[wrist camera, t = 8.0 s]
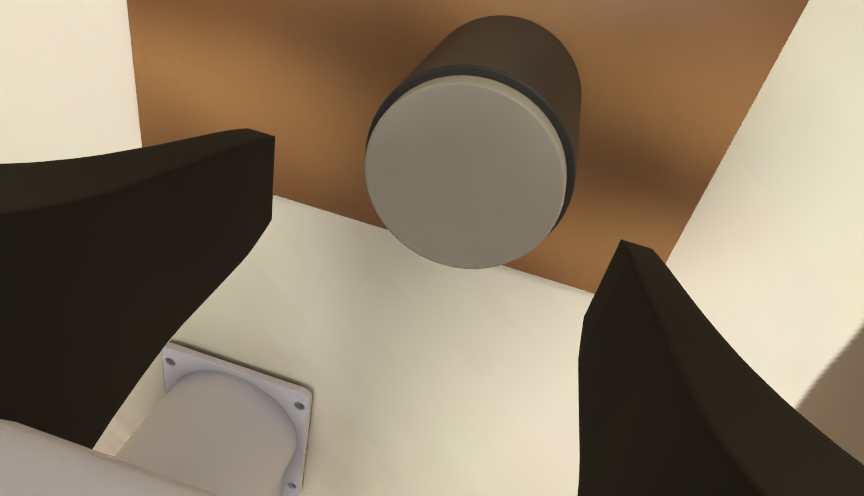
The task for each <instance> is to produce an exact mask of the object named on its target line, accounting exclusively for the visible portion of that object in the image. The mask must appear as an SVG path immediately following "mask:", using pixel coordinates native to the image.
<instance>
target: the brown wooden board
mask: <svg viewBox="0 0 864 496" xmlns="http://www.w3.org/2000/svg"><path fill="white" fill-rule="evenodd" d="M808 1H809V0H127V8H128V17H129V27H130V36H131V45H132V55H133V64H134V74H135V83H136V93H137V102H138V112H139V121H140V131H141V140H142V148H143V147H149V146H154V145H159V144H164V143H168V142H173V141H178V140H182V139H187V138H192V137H197V136H201V135H206V134H211V133H216V132H221V131H227V130H233V129H242V128H249V129H253V130H256V131H259V132H263V133H266V134H269V135H273V136H275V154H274V177H273V194H274V195H277V196H280V197H283V198H287V199H290V200H293V201H296V202H300V203H303V204H306V205H309V206H313V207H316V208H319V209H322V210H326V211H329V212H332V213H335V214H339V215H342V216H345V217H348V218H351V219H355V220H358V221H361V222H364V223H368V224H371V225H374V226H377V227H381V228H384V229H387V230H388V228H387V227H386V226H385V225H384V223H383V222H382V221H381V219H380V217H379V216H378V214H377V213H376V210H375V208H374V206H373V204H372V202H371V199H370V196H369V193H368V190H367V185H366V180H365V149H366V140H367V136H368V131H369V128H370V125H371V123H372V120H373V118H374V116H375V114H376V112H377V110H378V109H379V107H380V106H381V104H382V103H383V102H384V100H385V99H386V98H387V96H388V95H389V94H390V93H391V92H392V91H393V90H394V89H395V88H396V87H397V86H398V85H399V84H400V83H401V82H402V81H403V80H404V79H405V78H406V77H407V76H408V75H409V74H410V73H411V72H412V71H413V70H414V69H415V68H416V67H417V66H418V65H419V64H420V63H421V62H422V61H423V60H424V59H425V58H426V57H427V56H428V55H429V54H430V53H431V52H432V51H433V50H434V49H435V48H436V47H437V46H438V45H439V44H440V43H441V42H442V41H443V40H444V39H445V38H446V37H447V36H448V35H449V34H450V33H452V32H453V31H454V30H456V29H457V28H458V27H460V26H462V25H464V24H466V23H468V22H470V21H473V20H475V19H478V18H483V17H487V16H497V15H504V16H514V17H519V18H523V19H526V20H529V21H532V22H534V23H536V24H538V25H540V26H542V27H544V28H545V29H546V30H548V31H549V32H551V33H552V34H553V35H554V36H555V37H556V38H557V39H559V40H560V41H561V43H562V44H563V45H564V46H565V48H566V49H567V50H568V52H569V54H570V55H571V57H572V59H573V61H574V63H575V65H576V68H577V70H578V74H579V78H580V83H581V113H580V127H579V142H578V156H577V170H576V181H575V187H574V192H573V195H572V199H571V202H570V204H569V206H568V209H567V211H566V213H565V215H564V216H563V218H562V219H561V221H560V222H559V224H558V225H557V226H556V227H555V229H554V230H553V231H552V232H551V233H550V234H549V235H548V236H547V237H546V238H544V239H543V240H542V242H541V243H540V244H538V245H537V246H536V247H535V248H534V249H532V250H531V251H530V252H528V253H526V254H525V255H523V256H522V257H520V258H518V259H516V260H514V261H511V262H509V263H506V264H503V265H504V266H507V267H510V268H514V269H517V270H520V271H523V272H527V273H530V274H533V275H536V276H540V277H543V278H546V279H549V280H553V281H556V282H559V283H562V284H566V285H569V286H572V287H575V288H579V289H582V290H585V291H588V292H592V293H596V291H597V289H598V287H599V284H600V282H601V280H602V278H603V276H604V274H605V272H606V270H607V268H608V266H609V263H610V261H611V259H612V257H613V255H614V253H615V251H616V249H617V247H618V244H619V242H620V240H621V239H622V240H625V241H628V242H632V243H635V244H638V245H642V246H645V247H649V248H652V249H653V250H654V251H655V252H656V253H657V254H658V256H659V257H660V258H661V259H662V261H663V262H664V263H666V261H667V259H668V257H669V256H670V254H671V252H672V250H673V248H674V246H675V245H676V243H677V241H678V239H679V237H680V235H681V234H682V232H683V230H684V228H685V226H686V224H687V223H688V221H689V219H690V217H691V215H692V213H693V212H694V210H695V208H696V206H697V204H698V202H699V201H700V199H701V197H702V195H703V193H704V191H705V190H706V188H707V186H708V184H709V182H710V180H711V179H712V177H713V175H714V173H715V171H716V170H717V168H718V166H719V164H720V162H721V160H722V159H723V157H724V155H725V153H726V151H727V149H728V148H729V146H730V144H731V142H732V140H733V138H734V137H735V135H736V133H737V131H738V129H739V127H740V126H741V124H742V122H743V120H744V118H745V116H746V115H747V113H748V111H749V109H750V107H751V105H752V104H753V102H754V100H755V98H756V96H757V94H758V93H759V91H760V89H761V87H762V85H763V83H764V82H765V80H766V78H767V76H768V74H769V72H770V71H771V69H772V67H773V65H774V63H775V61H776V60H777V58H778V56H779V54H780V52H781V50H782V49H783V47H784V45H785V43H786V41H787V39H788V38H789V36H790V34H791V32H792V30H793V28H794V27H795V25H796V23H797V21H798V19H799V17H800V16H801V14H802V12H803V10H804V8H805V7H806V5H807V3H808Z"/></svg>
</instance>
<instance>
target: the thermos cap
mask: <svg viewBox="0 0 864 496" xmlns="http://www.w3.org/2000/svg"><path fill="white" fill-rule="evenodd" d="M580 113H581V83H580V78H579V74H578V70H577V68H576V65H575V63H574V61H573V59H572V57H571V55H570V54H569V52H568V50H567V49H566V48H565V46H564V45H563V44H562V43H561V41H560V40H559V39H557V38H556V37H555V36H554V35H553V34H552V33H551V32H549V31H548V30H546V29H545V28H544V27H542V26H540V25H538V24H536V23H534V22H532V21H529V20H526V19H523V18H519V17H514V16H504V15H497V16H487V17H483V18H478V19H475V20H473V21H470V22H468V23H466V24H464V25H462V26H460V27H458V28H457V29H456V30H454V31H453V32H452V33H450V34H449V35H448V36H447V37H446V38H445V39H444V40H443V41H442V42H441V43H440V44H439V45H438V46H437V47H436V48H435V49H434V50H433V51H432V52H431V53H430V54H429V55H428V56H427V57H426V58H425V59H424V60H423V61H422V62H421V63H420V64H419V65H418V66H417V67H416V68H415V69H414V70H413V71H412V72H411V73H410V74H409V75H408V76H407V77H406V78H405V79H404V80H403V81H402V82H401V83H400V84H399V85H398V86H397V87H396V88H395V89H394V90H393V91H392V92H391V93H390V94H389V95H388V96H387V98H386V99H385V100H384V102H383V103H382V104H381V106H380V107H379V109H378V110H377V112H376V114H375V116H374V118H373V120H372V123H371V125H370V128H369V131H368V136H367V140H366V149H365V180H366V185H367V190H368V193H369V196H370V199H371V202H372V204H373V206H374V208H375V210H376V213H377V214H378V216H379V217H380V219H381V221H382V222H383V223H384V225H385V226H386V227H387V228H388V230H389V231H390V232H391V233H392V234H393V235H394V236H395V237H396V238H397V239H398V240H399V241H400V242H401V243H403V244H404V245H405V246H406V247H408V248H409V249H411V250H412V251H414V252H415V253H417V254H419V255H421V256H423V257H425V258H427V259H429V260H431V261H434V262H437V263H439V264H443V265H447V266H451V267H457V268H465V269H480V268H490V267H495V266H500V265H503V264H506V263H509V262H511V261H514V260H516V259H518V258H520V257H522V256H523V255H525V254H526V253H528V252H530V251H531V250H532V249H534V248H535V247H536V246H537V245H538V244H540V243H541V242H542V240H543V239H544V238H546V237H547V236H548V235H549V234H550V233H551V232H552V231H553V230H554V229H555V227H556V226H557V225H558V224H559V222H560V221H561V219H562V218H563V216H564V215H565V213H566V211H567V209H568V206H569V204H570V202H571V199H572V195H573V192H574V187H575V181H576V170H577V156H578V142H579V127H580Z"/></svg>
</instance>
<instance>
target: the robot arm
mask: <svg viewBox="0 0 864 496" xmlns="http://www.w3.org/2000/svg"><path fill="white" fill-rule="evenodd" d="M274 154H275V136H273V135H269V134H266V133H263V132H259V131H256V130H253V129H249V128H242V129H233V130H227V131H221V132H216V133H211V134H206V135H201V136H197V137H192V138H187V139H182V140H178V141H173V142H168V143H164V144H159V145H154V146H149V147H143V148H137V149H132V150H126V151H121V152H115V153H110V154H104V155H97V156H90V157H82V158H75V159H65V160H55V161H45V162H32V163H11V164H0V496H300V494H301V491H302V482H303V474H304V465H305V456H306V448H307V439H308V430H309V422H310V413H311V404H312V394H311V392H310V391H309V390H308V389H306V388H304V387H301V386H298V385H295V384H292V383H289V382H286V381H283V380H281V379H278V378H275V377H272V376H269V375H266V374H263V373H260V372H257V371H254V370H251V369H248V368H245V367H242V366H239V365H236V364H233V363H230V362H227V361H224V360H221V359H219V358H216V357H213V356H210V355H207V354H204V353H201V352H198V351H195V350H192V349H189V348H186V347H183V346H180V345H177V344H174V343H167V342H168V341H169V340H170V339H171V337H172V336H173V335H174V334H175V333H176V332H177V330H178V329H179V328H180V327H181V326H182V325H183V323H184V322H185V321H186V320H187V319H188V318H189V317H190V316H191V315H192V314H193V313H194V312H195V311H196V310H197V309H198V308H199V307H200V305H201V304H202V303H203V302H204V301H205V300H206V299H207V298H208V297H209V296H210V295H211V294H212V293H213V292H214V291H215V290H216V289H217V288H218V286H219V285H220V284H221V283H222V282H223V281H224V280H225V279H226V278H227V277H228V276H229V275H230V274H231V273H232V272H233V270H234V269H235V268H236V267H237V266H238V265H239V264H240V263H241V262H242V261H243V260H244V258H245V257H246V256H247V255H248V254H249V253H250V251H251V250H252V248H253V247H254V245H255V244H256V243H257V241H258V240H259V238H260V237H261V235H262V234H263V232H264V231H265V229H266V228H267V226H268V225H269V223H270V221H271V220H272V199H273V177H274ZM166 343H167V344H166ZM160 352H161V353H162V362H163V372H164V381H165V390H166V396H165V397H164V398H163V400H162V401H161V402H160V403H159V404H158V405H157V407H156V408H155V409H154V410H153V411H152V413H151V414H150V415H149V416H148V417H147V418H146V420H145V421H144V422H143V423H142V424H141V426H140V427H139V428H138V429H137V430H136V432H135V433H134V434H133V435H132V436H131V437H130V439H129V440H128V441H127V442H126V443H125V445H124V446H123V447H122V448H121V449H120V450H119V452H118V453H117V454H116V455H115V456H114V457H112V456H109V455H106V454H104V453H101V452H98V451H95V450H92V449H93V447H94V446H95V444H96V443H97V441H98V440H99V438H100V437H101V435H102V434H103V432H104V430H105V429H106V427H107V426H108V424H109V423H110V421H111V420H112V418H113V417H114V415H115V414H116V413H117V411H118V410H119V408H120V407H121V405H122V404H123V403H124V401H125V400H126V398H127V397H128V395H129V394H130V393H131V391H132V390H133V388H134V387H135V385H136V384H137V383H138V381H139V380H140V378H141V377H142V376H143V374H144V373H145V372H146V370H147V369H148V368H149V366H150V365H151V364H152V362H153V361H154V360H155V358H156V357H157V356H158V354H159V353H160ZM578 379H579V440H580V467H579V486H578V496H864V465H863V464H862V463H860V462H859V461H858V460H856V459H855V458H854V457H852V456H851V455H850V454H848V453H847V452H846V451H844V450H843V449H842V448H840V447H839V446H838V445H837V444H836V443H834V442H833V441H832V440H831V439H829V438H828V437H827V436H826V435H825V434H823V433H822V432H821V431H820V430H819V429H817V428H816V427H815V426H814V425H813V424H811V423H810V422H809V421H808V420H806V419H805V418H804V417H803V416H802V415H801V414H799V413H798V412H797V411H796V410H795V409H794V408H793V407H792V406H790V405H789V404H788V403H787V402H786V401H785V400H784V399H783V398H781V397H780V396H779V395H778V394H777V393H776V392H775V391H774V390H773V389H772V388H771V387H770V386H769V385H768V384H767V383H766V382H765V381H764V380H763V379H762V378H761V377H760V376H759V375H758V374H757V373H756V372H755V371H753V369H752V368H751V367H750V366H749V365H748V364H747V363H746V362H745V361H744V360H743V359H742V358H741V357H740V356H739V355H738V354H737V353H736V351H735V350H734V349H733V348H732V347H731V346H730V345H729V344H728V342H727V341H726V340H725V339H724V338H723V337H722V336H721V334H720V333H719V332H718V331H717V330H716V329H715V327H714V326H713V325H712V324H711V323H710V321H709V320H708V319H707V318H706V317H705V315H704V314H703V313H702V312H701V310H700V309H699V308H698V307H697V305H696V304H695V303H694V301H693V300H692V299H691V298H690V296H689V295H688V294H687V292H686V291H685V290H684V288H683V287H682V286H681V284H680V283H679V282H678V280H677V279H676V278H675V276H674V275H673V274H672V272H671V271H670V270H669V268H668V267H667V266H666V264H665V263H664V262H663V261H662V259H661V258H660V257H659V256H658V254H657V253H656V252H655V251H654V250H653V249H652V248H649V247H645V246H642V245H638V244H635V243H632V242H628V241H625V240H622V239H621V240H620V242H619V244H618V247H617V249H616V251H615V253H614V255H613V257H612V259H611V261H610V263H609V266H608V268H607V270H606V272H605V274H604V276H603V278H602V280H601V282H600V284H599V287H598V289H597V291H596V293H595V295H594V297H593V299H592V301H591V303H590V306H589V308H588V310H587V312H586V314H585V316H584V320H583V327H582V334H581V342H580V350H579V358H578Z"/></svg>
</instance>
